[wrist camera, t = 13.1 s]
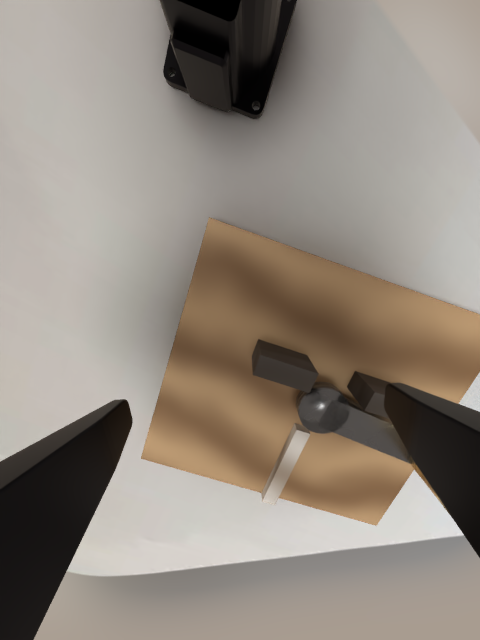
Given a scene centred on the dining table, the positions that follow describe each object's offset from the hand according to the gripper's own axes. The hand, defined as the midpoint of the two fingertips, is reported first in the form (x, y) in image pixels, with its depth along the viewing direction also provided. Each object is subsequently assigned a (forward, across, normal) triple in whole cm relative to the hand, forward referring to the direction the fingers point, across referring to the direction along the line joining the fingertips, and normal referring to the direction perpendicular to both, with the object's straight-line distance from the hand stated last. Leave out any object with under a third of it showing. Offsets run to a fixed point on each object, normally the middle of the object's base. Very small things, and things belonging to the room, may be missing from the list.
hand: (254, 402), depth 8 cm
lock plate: (+11, -5, +7) cm, 14 cm away
